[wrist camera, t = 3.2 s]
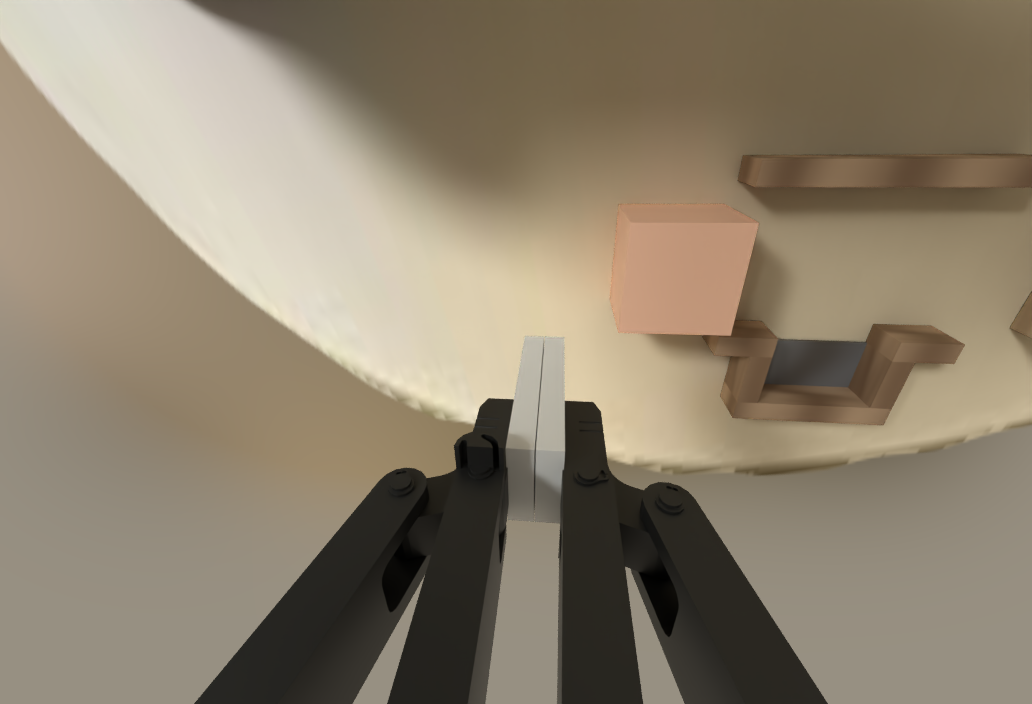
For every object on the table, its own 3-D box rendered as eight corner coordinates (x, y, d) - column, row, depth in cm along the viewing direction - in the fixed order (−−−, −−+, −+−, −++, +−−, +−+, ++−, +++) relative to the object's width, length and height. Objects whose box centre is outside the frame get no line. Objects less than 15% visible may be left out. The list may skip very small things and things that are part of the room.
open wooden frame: (689, 394, 36) (703, 424, 33) (743, 155, 27) (769, 161, 24) (982, 407, 34) (1030, 440, 31) (1144, 153, 25) (1237, 159, 22)
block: (609, 298, 33) (618, 332, 28) (618, 203, 30) (630, 222, 24) (703, 300, 32) (730, 335, 27) (723, 203, 29) (759, 223, 24)
